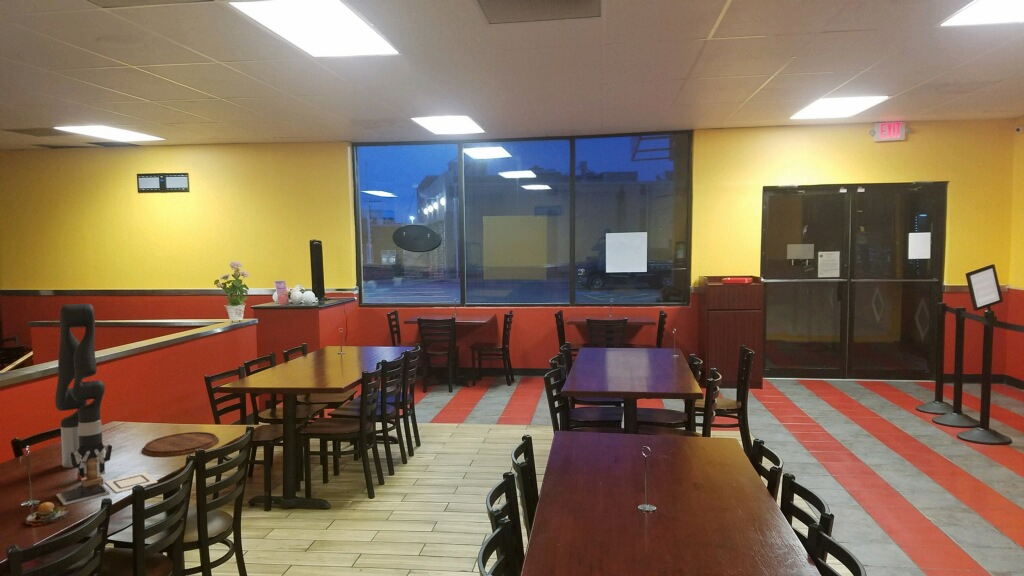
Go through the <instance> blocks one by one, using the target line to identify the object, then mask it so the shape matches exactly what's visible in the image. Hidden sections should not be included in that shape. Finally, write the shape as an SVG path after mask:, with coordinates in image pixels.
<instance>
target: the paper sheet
mask: <svg viewBox="0 0 1024 576" xmlns="http://www.w3.org/2000/svg"><path fill="white" fill-rule="evenodd" d="M158 482H159V481H157V480H156V479H154V478H153V477H152V476H151V475H149V474H148V473H147V472H145V471H144V472H140V473H136V474H131V475H127V476H124V477H119V478H115V479H111V480H105V481H104V483H105V484H106V485H107V486H108V487H110V489H111V490H113V491H114V492H115V494H118V493H122V492H125V491H124V490H126V491H130V490H133V489H132V487H133V486H134V485H142V487H145V486H149V485H154V484H158ZM146 483H148V484H146ZM121 491H122V492H121ZM117 492H118V493H117Z"/></svg>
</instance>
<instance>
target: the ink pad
mask: <svg viewBox="0 0 1024 576" xmlns="http://www.w3.org/2000/svg"><path fill="white" fill-rule="evenodd" d="M107 495H110V491H109V490H108V489H107V488H106V487H105V486H104V484H103V485H102V484H95V485H90V486H86V487H83V486H81V487H79V488H75V489H70V490H66V491H60V492H59V493H56V497H57V499H58V501H60V502H61V504H62V505H63V506H66V505H70V504H74V503H79V502H82V501H88V500H90V499H94V498H99V497H102V496H107Z"/></svg>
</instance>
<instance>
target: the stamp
mask: <svg viewBox="0 0 1024 576" xmlns="http://www.w3.org/2000/svg"><path fill="white" fill-rule="evenodd" d="M85 463H86V465H87V477H86V478H82V479H81V480H80V481H81V482H80V486H81V487H86V486H90V485H95V484H102V485H103V486H104V483H105V482H104V477H102V475H97V458H96V457H95V458H90V459H87V460H86V462H85Z"/></svg>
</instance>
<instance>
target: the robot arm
mask: <svg viewBox="0 0 1024 576" xmlns="http://www.w3.org/2000/svg"><path fill="white" fill-rule="evenodd" d="M95 326H96V315H95V309H94V306H93V304H90V303H73V304H72V303H71V304H70V303H68V304H64V305H62V306H61V308H60V310H59V334H60V335H59V349H58V361H57V363H58V364H57V365H58V366H57V368H58V370H57V383H56V390H55V396H54V397H55V398H54V404H55V408H56V409H57V411H61V412H62V411H72V410H73V411H74V410H76V411H74V412H73V413H72V414H70V415H68V416H66V417H64V418H62V419H61V420H60V436H61V457H62V461H61V463H62V464H61V465H62V467H63V468H68V469H69V468H74V469H77V468H79V475H80V476H81V477H84V467H83V466H84V464H85V462H86V460H87V459H90V458H95V457H97V458H98V459H99V461H100V463H99V469H100V473H103V471H104V470H105V471H106V468H105V467H106V463H107V462H109V461H110V460H111V455H112V450H113V446H112V444H110V443H109V444H103V427H102V425H103V423H102V419H101V407H102V402H103V398H104V395H105V391H106V386H105V383H104V382H103V381H101V380H98V379H97V380H89V381H83V380H84V379H87V378H89V377H92V376H94V375H96V374H97V372H98V371H97V370H98V368H97V361H96V354H95V353H96V352H95V351H96V350H95V345H96V342H95V341H96V333H95V332H96V327H95ZM79 327H80V328H81V327H83V328H84V327H85V332H84V335H83V337H82V339H81V341H79V340H78V339H77V338H76V337H75V336H74V334H73V332H72V331H71V328H79ZM72 382H73V385H72V387H69V386H70V385H71V383H72ZM89 400H92V402H90V403H88V401H89ZM103 449H104V451H105V454H104V458H103V457H102V456H101V454H100V453H101V451H102V450H103ZM78 453H79V454H80V455H81V459H80V462H79V464H77V454H78Z"/></svg>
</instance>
